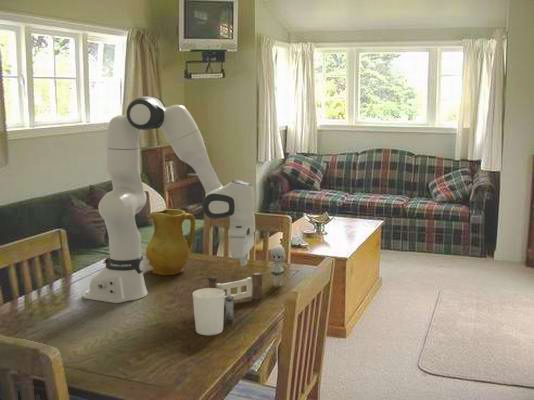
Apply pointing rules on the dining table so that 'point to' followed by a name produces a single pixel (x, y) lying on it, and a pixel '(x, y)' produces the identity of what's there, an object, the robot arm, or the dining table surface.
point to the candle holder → (209, 310)
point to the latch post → (229, 309)
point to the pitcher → (169, 242)
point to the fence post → (257, 285)
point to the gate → (237, 284)
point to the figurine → (278, 262)
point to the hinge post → (212, 282)
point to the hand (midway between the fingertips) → (243, 265)
